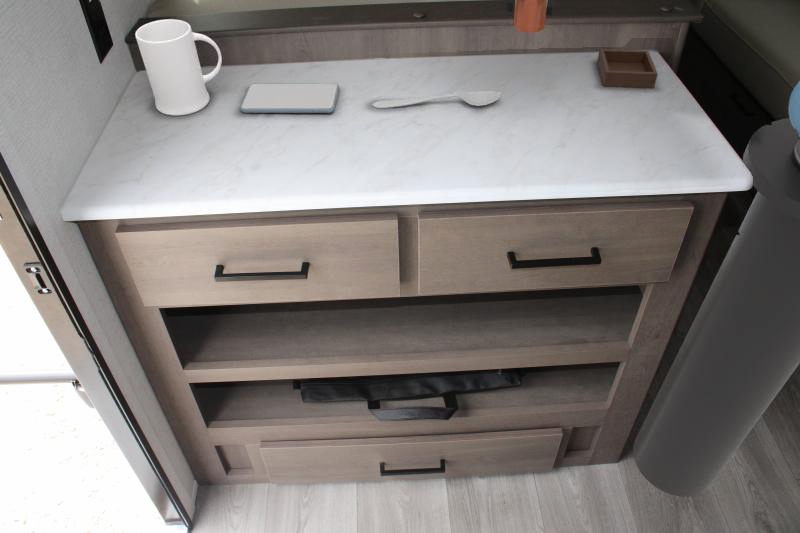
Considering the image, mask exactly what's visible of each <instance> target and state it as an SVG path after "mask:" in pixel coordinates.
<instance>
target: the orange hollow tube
mask: <svg viewBox="0 0 800 533" xmlns="http://www.w3.org/2000/svg"><path fill="white" fill-rule="evenodd" d="M547 2H548V0H515V2H514V9H513V19H512V20H513V22H512V27H513V29H514V30H516V31H518V32H521V33H527V34H532V33H533V34H536V33H539V32H542V31H543V30H544V29H545V26H546V22H547V21H546V20H547V15H546V9H547Z"/></svg>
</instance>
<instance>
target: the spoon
mask: <svg viewBox="0 0 800 533" xmlns="http://www.w3.org/2000/svg"><path fill="white" fill-rule="evenodd" d="M501 97H502V93H501V92H500V91H496V90H487V91H486V90H485V91H483V90H482V91H466V92H455V93H448V94H442V95H433V96H432V95H431V96H422V97H411V98H402V99H401V98H400V99H385V100H384V99H383V100H378V101H375V102H373V103H372V107H373V108H375V109H390V108H397V107H398V108H399V107H406V106H411V105H415V104H416V105H417V104H421V103H426V102H430V101H435V100H443V99H450V98H460V99H462V100H463V101H464V102H465V103H467V104H469V105H472V106H476V107H479V106H486V105H490V104H492V103H494V102H496V101H497V100H499V99H500V98H501Z"/></svg>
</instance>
